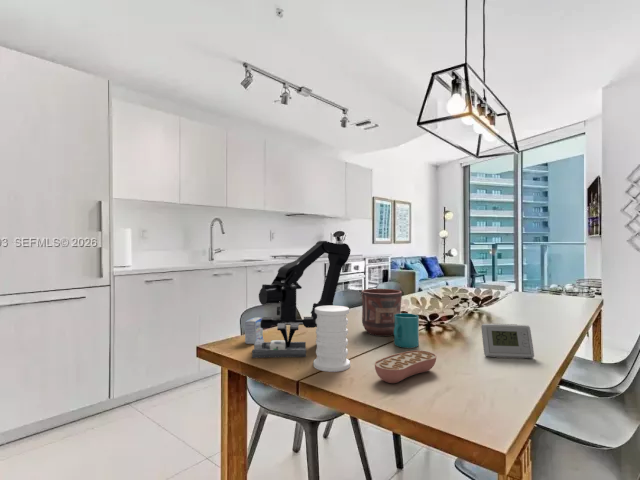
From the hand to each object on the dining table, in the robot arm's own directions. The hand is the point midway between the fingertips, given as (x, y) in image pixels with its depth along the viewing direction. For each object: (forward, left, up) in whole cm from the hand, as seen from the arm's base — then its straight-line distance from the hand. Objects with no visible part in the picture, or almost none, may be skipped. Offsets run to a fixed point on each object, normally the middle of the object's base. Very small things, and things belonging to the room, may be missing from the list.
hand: (288, 346), depth 131 cm
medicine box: (+14, -16, -2) cm, 21 cm away
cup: (-43, -7, -2) cm, 44 cm away
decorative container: (-14, +14, -2) cm, 20 cm away
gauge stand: (+3, 0, -2) cm, 4 cm away
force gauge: (+4, +1, -1) cm, 4 cm away
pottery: (-39, -28, -2) cm, 48 cm away
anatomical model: (-35, +24, -3) cm, 42 cm away
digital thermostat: (-75, +7, -2) cm, 75 cm away
